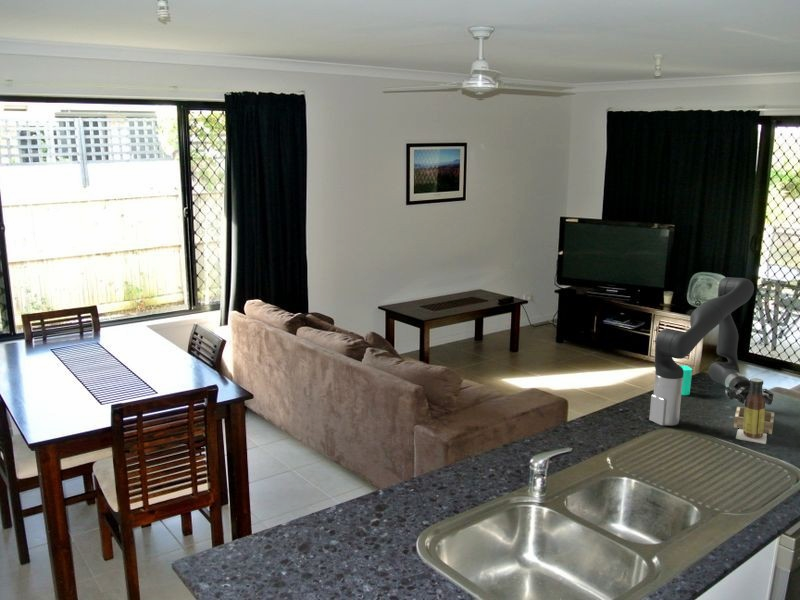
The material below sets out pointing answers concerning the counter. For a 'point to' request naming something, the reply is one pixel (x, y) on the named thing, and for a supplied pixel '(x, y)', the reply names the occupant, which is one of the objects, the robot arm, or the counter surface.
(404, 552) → the counter surface
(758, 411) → the sauce bottle
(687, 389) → the turquoise rectangular block
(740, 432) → the coaster mat
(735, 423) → the wooden tray
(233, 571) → the counter surface
